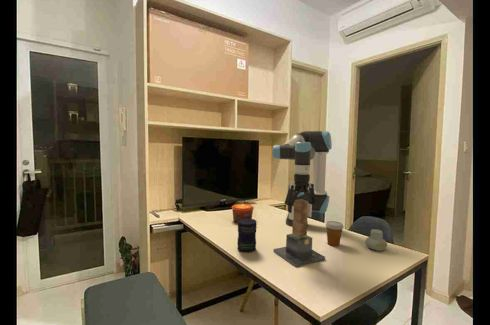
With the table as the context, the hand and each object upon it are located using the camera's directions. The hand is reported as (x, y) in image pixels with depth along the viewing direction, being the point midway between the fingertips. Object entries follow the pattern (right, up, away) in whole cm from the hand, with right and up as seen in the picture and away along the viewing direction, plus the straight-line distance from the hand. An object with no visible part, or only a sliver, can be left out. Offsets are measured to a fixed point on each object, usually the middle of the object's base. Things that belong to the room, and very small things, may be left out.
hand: (300, 217), depth 128 cm
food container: (-29, -15, +57) cm, 66 cm away
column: (0, -11, +1) cm, 11 cm away
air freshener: (+44, -20, +13) cm, 50 cm away
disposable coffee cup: (+23, -19, +18) cm, 34 cm away
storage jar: (-26, -18, +8) cm, 33 cm away
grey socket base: (0, -19, +1) cm, 19 cm away
